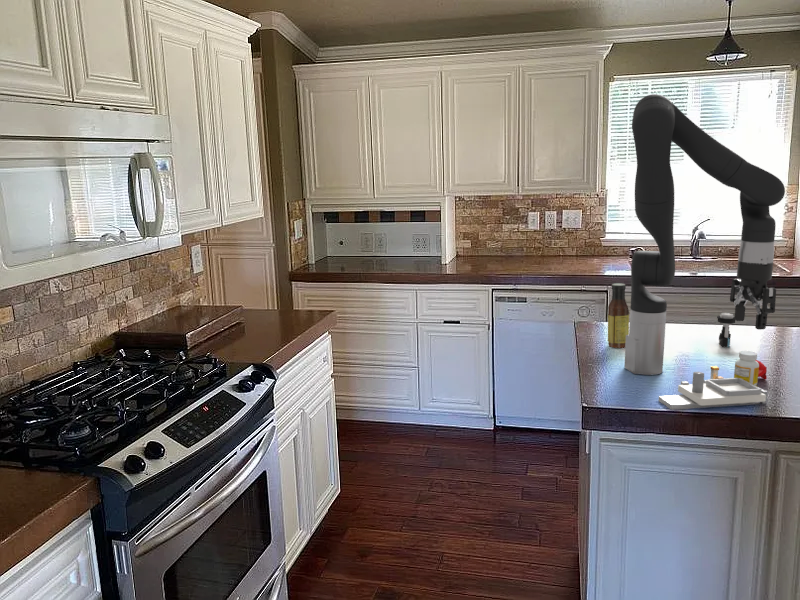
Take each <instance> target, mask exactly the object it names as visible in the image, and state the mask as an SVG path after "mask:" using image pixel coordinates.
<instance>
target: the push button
mask: <svg viewBox="0 0 800 600" xmlns="http://www.w3.org/2000/svg"><path fill="white" fill-rule="evenodd" d="M734 318H735V315H734V314H733V313H729V312H721V313H720V314H719V315H717V317H716V319H717V322H718V323H719V324H721V325H722V329H721V332H719V335H718V345H719V346H722V348H730V345H731V336H732V335H731V333H730V325H733V324H735V323H736V320H735V319H734Z"/></svg>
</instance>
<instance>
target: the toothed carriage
mask: <svg viewBox="0 0 800 600" xmlns="http://www.w3.org/2000/svg"><path fill="white" fill-rule="evenodd" d="M692 373H693V374H692V381H691V383H690V382H689V381H686V380H685V381H681V382H680V384H678V387H677V389H678V390H677V392H679V393H680V394H681V395H685V396H686V397H688V398H690V399H691V400H693V401H694V402H696V403H697V404H699V405H701V406H703V405H719V404H735V403H750V402H759V403H760V402H765V400H766V395H765V394H763V393H761V390H762V389H763V388H761V387H759V386H758V385H757V386H755V385H753V384H751V383H749V382H747V381H745V380H743V379H741V378H734V377H729V378H728V377H723V376H720V375H718V376H716V377H715V379H710V378H709V379H705V373H704V372H702V371H693V372H692Z"/></svg>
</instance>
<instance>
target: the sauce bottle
mask: <svg viewBox="0 0 800 600" xmlns="http://www.w3.org/2000/svg"><path fill="white" fill-rule="evenodd" d="M611 292H612V295H611V300H610V302H609V303H608V305H607V306H608V308H607V309H608V310H607V312H608V313H607V343H608V345H607V346H608V347H610V348H613V349H620V350H621V349H625V344H626V335H629V326H630V311H629V306H628V304H627V301H626V284H625V283H621V282H620V283H619V282H618V283H612V284H611Z"/></svg>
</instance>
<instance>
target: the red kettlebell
mask: <svg viewBox="0 0 800 600" xmlns="http://www.w3.org/2000/svg"><path fill="white" fill-rule="evenodd" d="M755 361H757V362H758V363H759V372H758V378H761V379H763V380H767V372H768V371H767V366H766V365H765V364H764V363H763V362H761V360H758V359H756V360H755ZM758 382H759V381H757V384H758Z"/></svg>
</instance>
